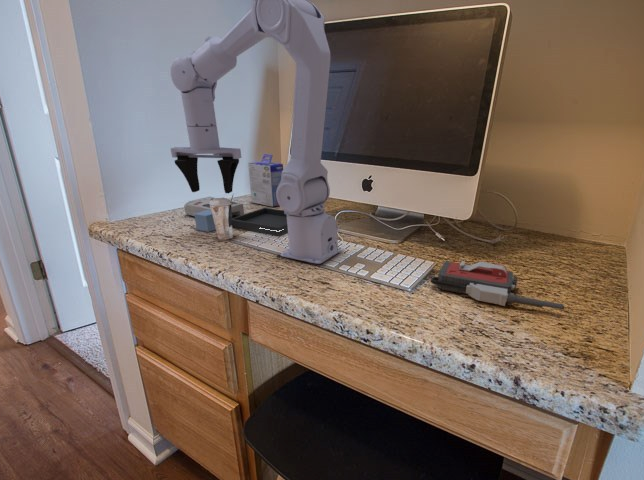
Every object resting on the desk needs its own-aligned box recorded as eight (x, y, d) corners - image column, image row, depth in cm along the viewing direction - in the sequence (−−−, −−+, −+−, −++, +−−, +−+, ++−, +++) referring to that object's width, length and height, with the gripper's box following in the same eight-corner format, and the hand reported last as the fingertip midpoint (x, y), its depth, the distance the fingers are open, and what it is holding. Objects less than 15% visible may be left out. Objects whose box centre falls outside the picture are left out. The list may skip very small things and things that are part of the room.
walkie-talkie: (426, 293, 60) (562, 319, 53) (428, 268, 59) (569, 292, 52) (438, 273, 68) (559, 293, 61) (440, 250, 66) (565, 269, 59)
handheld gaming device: (211, 208, 109) (209, 195, 107) (245, 216, 102) (243, 202, 100) (183, 215, 102) (180, 202, 101) (217, 224, 95) (214, 209, 93)
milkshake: (235, 241, 83) (229, 196, 79) (211, 240, 83) (204, 196, 79) (242, 234, 87) (236, 192, 83) (219, 234, 87) (213, 191, 83)
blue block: (221, 227, 92) (219, 211, 90) (208, 232, 89) (205, 215, 87) (209, 225, 94) (207, 209, 92) (196, 229, 90) (193, 213, 89)
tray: (311, 221, 97) (310, 214, 97) (278, 236, 87) (278, 227, 86) (265, 214, 104) (264, 207, 103) (229, 226, 93) (228, 219, 92)
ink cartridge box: (287, 204, 115) (283, 155, 109) (273, 207, 111) (269, 157, 105) (264, 199, 120) (260, 152, 114) (251, 203, 115) (245, 154, 110)
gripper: (243, 125, 80) (251, 189, 85) (179, 124, 81) (190, 187, 86) (228, 127, 73) (237, 195, 79) (159, 126, 75) (173, 193, 80)
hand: (212, 191), depth 82 cm, fingers open, 7 cm apart
